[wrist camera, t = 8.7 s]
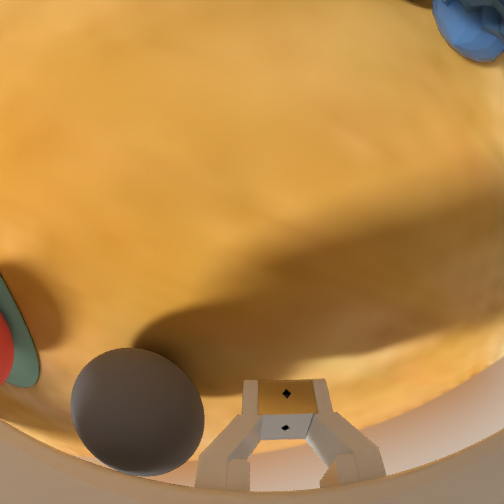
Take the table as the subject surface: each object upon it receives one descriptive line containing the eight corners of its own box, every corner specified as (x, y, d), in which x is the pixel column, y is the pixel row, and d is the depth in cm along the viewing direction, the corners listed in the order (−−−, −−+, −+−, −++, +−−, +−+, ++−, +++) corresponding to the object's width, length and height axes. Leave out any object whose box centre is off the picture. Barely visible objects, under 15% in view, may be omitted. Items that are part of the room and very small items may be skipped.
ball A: (215, 400, 7) (141, 299, 11) (66, 479, 4) (35, 357, 8) (241, 447, 10) (179, 370, 14) (143, 503, 8) (97, 416, 11)
